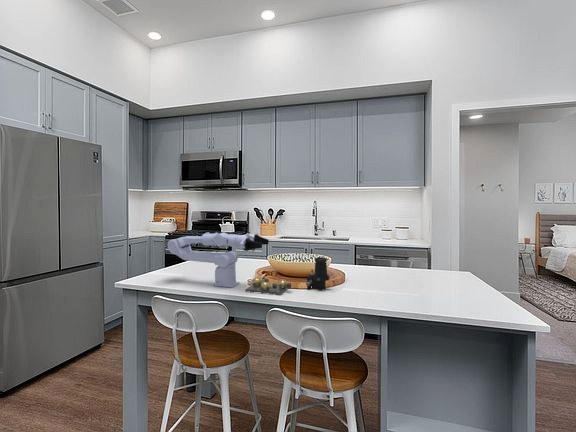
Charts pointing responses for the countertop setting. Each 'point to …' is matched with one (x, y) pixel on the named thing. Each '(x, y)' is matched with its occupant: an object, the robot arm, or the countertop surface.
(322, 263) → the scope
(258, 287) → the leveling base
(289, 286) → the foot screw
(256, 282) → the foot screw
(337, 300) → the countertop surface
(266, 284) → the footscrew right
